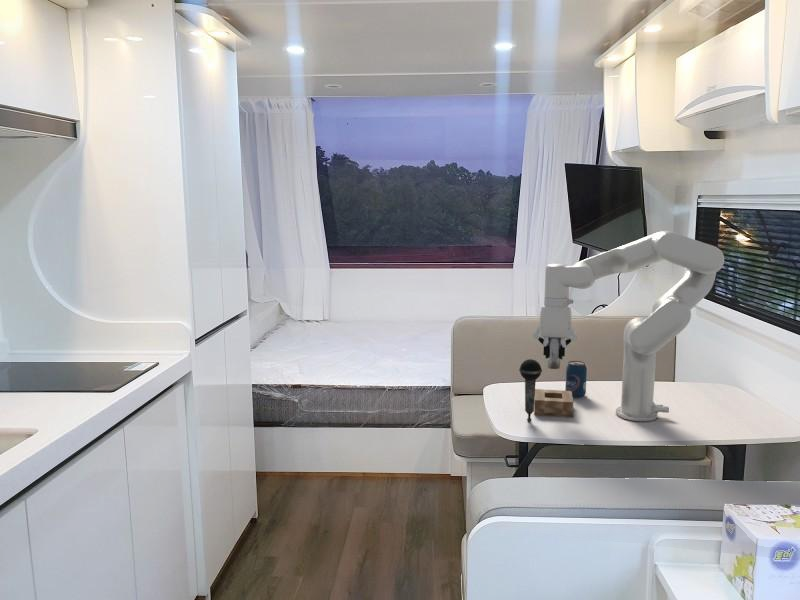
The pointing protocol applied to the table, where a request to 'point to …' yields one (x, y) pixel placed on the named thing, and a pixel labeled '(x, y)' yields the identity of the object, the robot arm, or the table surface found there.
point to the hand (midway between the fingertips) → (553, 357)
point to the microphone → (530, 383)
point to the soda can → (576, 378)
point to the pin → (553, 353)
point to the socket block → (553, 403)
